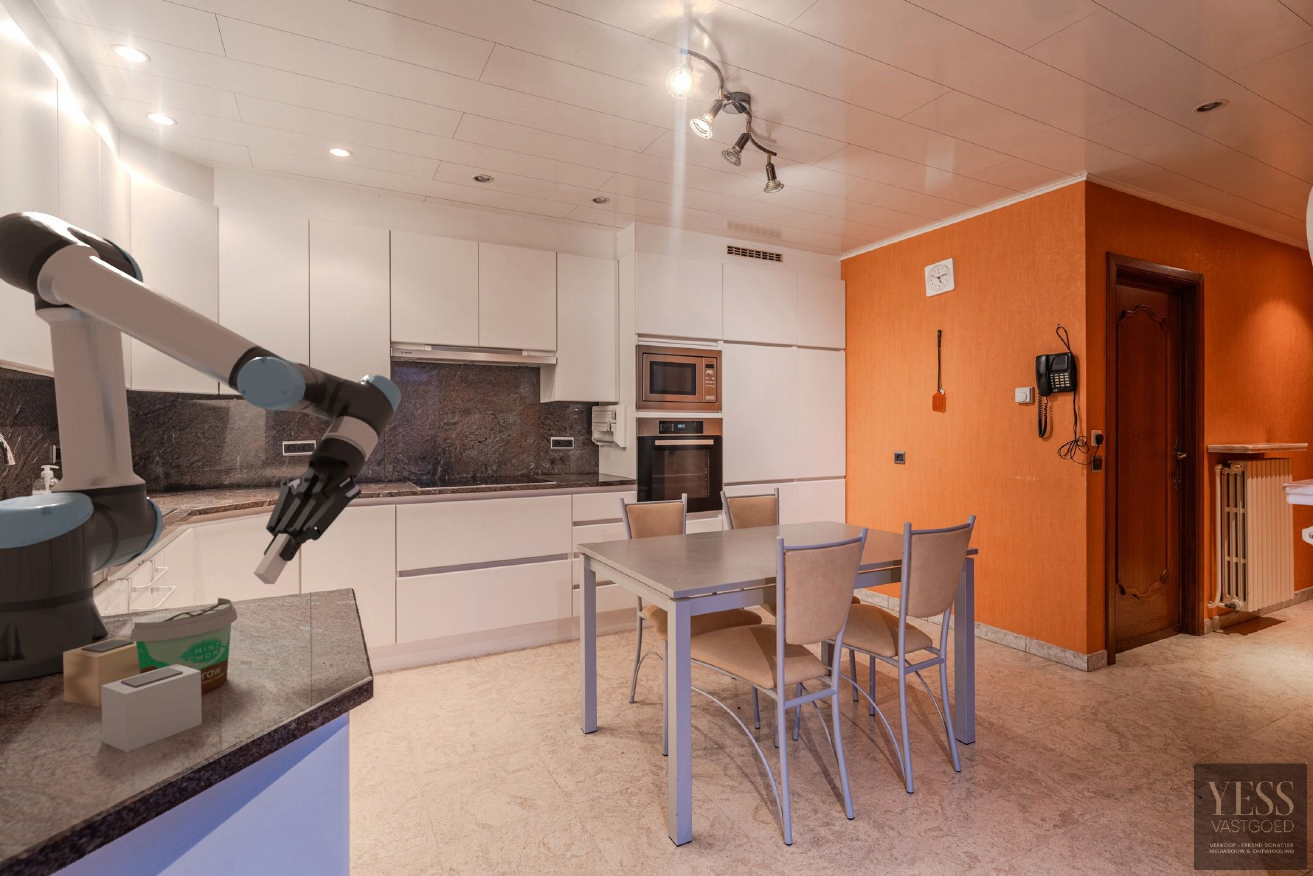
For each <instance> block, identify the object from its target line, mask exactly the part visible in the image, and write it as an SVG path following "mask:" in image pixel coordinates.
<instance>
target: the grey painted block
mask: <svg viewBox="0 0 1313 876" xmlns="http://www.w3.org/2000/svg"><path fill="white" fill-rule="evenodd" d="M101 695H102V706H101V735H102V736H101V738H102V741H101V742H102V743H104V744H107V745H109V746H111V747H113V748H115V749H116V750H120V751H122V750H123V751H122V752H124V753H128V752H131V751H130V750H132V751H134V750H136V749H139V747H140V748H142V747H145V746H148V745H150V744H152V743H155V742H158V741H160V740H163V739H166V738H168V737H171V736H175V735H176V734H179V733H182V732H184V731H187V730H190V729H193V728H195V727H198V726H200V725H203V722H202V721H203V720H202V717H203V715H202V714H203V713H202V710H203V709H202V695H201V671H199V670H196V669H192V668H189V667H186V666H182V665H179V664H174V665H170V666H167V667H163V668H160V669H157V670H153V671H150V672H146V673H143V674H139V675H136V676H132V677H129V678H125V679H122V680H119V681H115V682H112V683H108V684H105V685H101ZM147 744H148V745H147Z"/></svg>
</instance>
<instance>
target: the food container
mask: <svg viewBox="0 0 1313 876" xmlns="http://www.w3.org/2000/svg"><path fill="white" fill-rule="evenodd" d="M237 619H238V615H237V610H236V607H235V605H234V604H233V601H232V600H231V599H228V598H223V597H217V604H215V605H212V606H209V607H206V608H203V609H198V610H192V611H184V612H180V613H178V614H176V615H173V616H171V617H169V618H166V619H165V620H163V621H154V622H136V621H134V622H133V623H134V624H133V625H134V626H133V628H132V629H131V633H130V634H131V635H130V638H131V639H130V641H136V644H137V652H138V659H139V667H140V674H143V673H146V672H150V671H153V670H157V669H160V668H163V667H167V666H170V665H174V664H179V665H182V666H186V667H189V668H192V669H196V670H199V671H201V696H204V695H206V694H209V693H212V692H214V691H216V690H218V689H220V688H221V687H223V686H224V685H225V684H226V683H227V681H228V669H229V668H228V667H229V656H230V654H229V653H230V644H231V642H230V641H231V632H232V623H234V622H235V621H237Z"/></svg>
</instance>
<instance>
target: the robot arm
mask: <svg viewBox="0 0 1313 876" xmlns="http://www.w3.org/2000/svg"><path fill="white" fill-rule="evenodd" d="M0 279H1V280H2V281H4V283H6V284H8V285H10V286H12V287H15V288H16V289H20V290H23V291H25V292H27V293H30V294H32V295H33V301H34V310H35V311H34V312H35V313H34V314H35V315H36V316H37V317H38V318H39V319H41V320H42V321H44V322H45V323H46V324H47V325H48V326H49V332H50V341H51V342H50V343H51V353H52V354H51V355H52V364H53V365H52V366H53V377H54V378H53V379H54V388H55V389H54V390H55V400H56V412H57V423H58V424H57V425H58V433H59V435H58V436H59V447H60V459H61V469H62V478H61V479H60V480H59V481H58V482H57V483H56V484H55V485H54V486H53V487H51V488H50V493H49V492H48V493H38V494H34V495H29V496H17V497H14V498H8V499H5V500H0V683H1V682H11V681H18V680H26V679H32V678H37V677H41V676H46V675H51V674H55V673H60V672H64V666H63V652H66V651H69V650H73V649H77V648H80V647H84V646H87V645H91V644H94V643H98V642H101V641H105V640H108V639H111V635H110V632H109V630H108V627H107V625H106V624H105V622H104V620H103V617H102V616H101V614H100V611H99V608H98V606H97V605H96V603H95V597H94V573H97V572H100V571H102V570H106V569H110V568H113V567H115V568H116V567H120V566H124V565H125V564H129V563H130V562H133V561H134V560H136V559H138V558H141V557H142V556H144V555H146V554H147V553H148V552H149V551H150V550H151V549H153V548H154V547H155V545H156V544H157V542H158V541H159V540H160V537H161V535H162V532H163V527H164V517H163V513H162V510H161V508H160V507H159V505H158V504H157V503H156V502H155V501H153V500H152V498H150V496H148V495H147V494H148V493H147V485H146V480H144V479H143V478H141V477H140V476H139V475H137V474H136V473H135V471H134V468H133V460H132V458H133V457H132V447H131V434H130V433H131V432H130V424H129V413H128V401H127V397H128V396H127V389H126V388H127V387H126V376H125V363H124V362H125V361H124V352H123V341H122V339H123V338H122V333H124V334H125V335H128V336H129V337H131V338H132V339H135V340H137V341H139V342H141V343H143V344H145V345H147V346H149V347H151V348H152V349H155V350H156V351H159V352H160V353H162V354H164V355H166V356H168V357H170V358H172V359H174V360H176V361H177V362H179V363H182V365H183V364H184V365H185V366H188V367H189V368H191V369H194V370H195V371H197V372H199V373H200V374H203V375H205V376H207V377H208V378H210V379H213V380H214V381H216V382H219V383H220V384H222V385H223V386H227V387H228V388H229V389H232V390H233V391H235V392H237V393H238V394H240V395H241V397H242V398H243V399H244V400H245V401H246V402H247V403H248V404H250V405H252V406H254V407H256V408H259V409H262V410H266V411H271V412H279V411H280V412H281V411H284V412H285V411H286V412H298V413H299V412H300V413H306V414H309V415H312V416H316V417H319V418H322V419H325V420H328V421H331V424H330V426H329V427H328V429H326V431H325V432H324V434H323V436H322V437H321V440H320V441H319V442H318V443H317V445H316V447H315V448H314V450H313V451H312V453H311V454H310V456H309V458H308V459H309V460H308V467H307V469H305V470H304V471H303V472H301V474H299V478H297V479H295V480H292V481H291V482H290V481H289V480H288V479H283V480H282V481H281V482H280V492H279V495H278V497H277V500H276V502H275V504H274V508H273V510H272V512H271V515H270V517H269V519H268V522H267V524H266V528H265V530H266V531H267V532H268V533H269V534H271V536H273V538H272V539H271V541H270V542H269V544H268V546H267V547H266V549H265V550H264V552H263V557H262V560H261V561H260V562H259V564H258V565H257V567H256V569H254V572H253V574H254V575H255V576H256V577H257V578H258V579H259V580H260V581H261V582H262V583H263V584H265V585H275V584H276V582H277V580H278V579H279V577H280V576H281V574H282V572H283V571H284V569H285V567H286V566H287V564H288V562H291V561H292V560H293V559H294V558H295V556H296V554H297V553H298V552H299V549H300V548H301V547H302V546H303V544H305V543H306V542H307V541H308V540H309V541H310V540H312V541H313V542H314V541H318V540H319V539H320V538H321V537H322V536H323V535H324V533H325V532H326V531H327V530H328V529H329V527H331V525H332V524H333V522H335V521H336V519H337V518H339V517H338V516H340V514H341V513H342V512H343V511H344V510H345V509H346V508H347V506H348V505H349V504H350V503H351V502H352V501H353V500H355V499H356V498H358V497H359V496H360V495H361V494H362V490H361V488H360V487H359V486H358V484H357V483H356V482H355V481H356V480H357V478H358V476H359V475H360V473H361V471H362V470H363V468H364V466H365V464H366V461H368V459H369V457H370V456H371V454H372V452H373V450H374V449H375V447H376V445H377V443H378V442H379V440H380V439H381V436H382V435H383V434H384V432H385V430H386V429H387V427H388V426H389V424H390V423H391V420H392V419H394V416H395V413H396V411H397V409H398V408H399V407H398V406H399V404H400V403H401V400H402V395H401V391H400V389H399V388H398V386H397V385H396V383H394V381H392V380H391V379H389V378H388V377H386V376H383V375H381V374H367V375H364V376H363V377H362V378H361V379H360V380H358V381H353V380H351V379H346V378H342V377H340V376H337V375H335V374H332V373H328V372H325V371H323V370H321V369H317V368H315V367H312V366H310V365H307V364H304V363H301V362H295V361H292V360H287V359H285V358H283V357H282V356H280V355H277V354H276V353H274V352H273V351H270V350H268V349H266V348H264V347H262V346H260V345H259V344H256V343H255V342H253V341H251V340H250V339H248V338H246V337H244V336H242V335H241V334H238V333H236V332H234V331H233V330H231V329H229V328H227V327H226V326H224V325H222V324H220V323H218V322H216V321H215V320H212V319H210V318H208V317H207V316H205V315H203V314H202V313H199V312H197V311H195V310H194V309H191V308H190V307H188V306H186V305H185V304H183V303H181V302H179V301H177V300H175V299H174V298H171V297H170V296H167V295H166V294H164V293H163V292H161V291H158V290H156V289H155V288H152V287H150V286H149V285H147V284H146V283H144V276H143V272H142V270H141V268H140V266H139V264H138V262H137V261H136V260H135V258H134V257H133V256H132V255H131V254H130V253H129V252H128V251H126V250H125V249H123V248H122V247H121V246H119V245H117V244H116V243H115V242H113V241H111V240H110V239H108V238H105V237H104V236H100V235H98V234H94V233H91V232H88V231H86V230H83V229H81V228H78V227H77V226H74V225H72V224H70V223H68V222H65V221H64V220H61V219H59V218H57V217H54V216H52V215H48V214H44V213H39V212H32V211H22V212H21V211H20V212H19V211H18V212H13V213H8V214H5V215H2V216H0Z"/></svg>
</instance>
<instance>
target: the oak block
mask: <svg viewBox="0 0 1313 876" xmlns="http://www.w3.org/2000/svg"><path fill="white" fill-rule="evenodd" d="M130 639H131V637H130V638H129V637H120V636H116V637H112V638H110V639H108V640H105V641H101V642H98V643H94V644H91V645H87V646H84V647H80V648H77V649H73V650H69V651H66V652H63V666H64V671H63V698H64V699H63V700H64V702H68V703H74V704H80V705H84V706H85V705H87V706H91V707H98V708H99V707H102V695H101V685H105V684H108V683H112V682H115V681H119V680H122V679H125V678H129V677H132V676H136V675H139V674H140V667H139V659H138V652H137V644H136V641H130Z"/></svg>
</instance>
